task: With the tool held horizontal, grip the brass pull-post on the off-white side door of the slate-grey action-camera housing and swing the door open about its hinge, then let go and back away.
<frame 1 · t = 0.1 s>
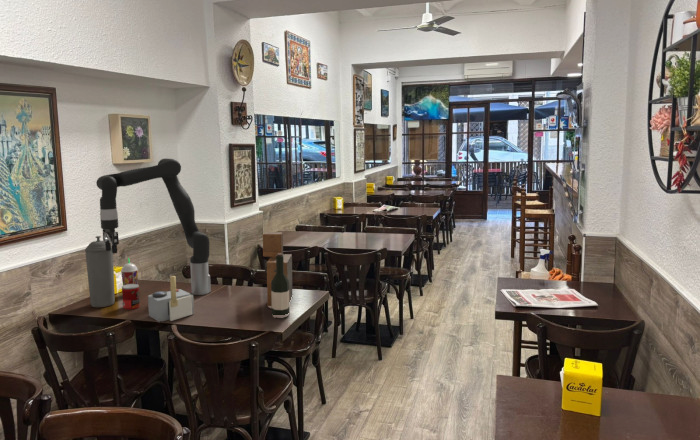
hand: (111, 251, 248), 29 cm above the table, tool pointing down, fingers open, 8 cm apart
camera body: (170, 315, 247), on the table
wine bottle: (280, 316, 247), on the table
side door: (182, 296, 241), point 11 cm above the table, hinge at 10.0°
smoothie: (130, 294, 280), on the table
canned food: (131, 307, 258), on the table
stacked wooden blocks: (279, 302, 268), on the table
canister: (102, 305, 262), on the table
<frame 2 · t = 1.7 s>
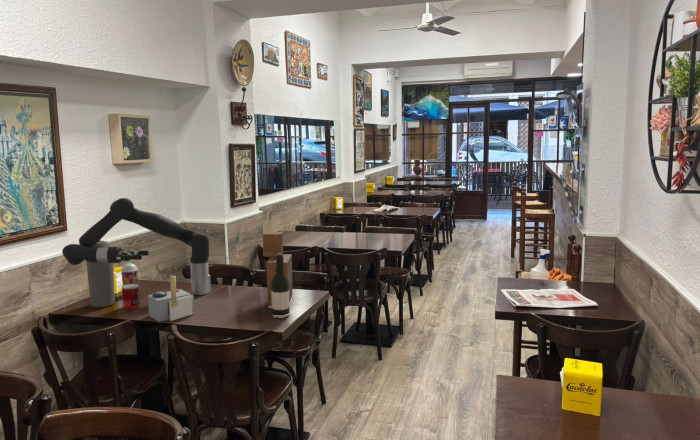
hand: (145, 255, 240), 30 cm above the table, tool horizontal, fingers open, 8 cm apart
nothing on the table moved.
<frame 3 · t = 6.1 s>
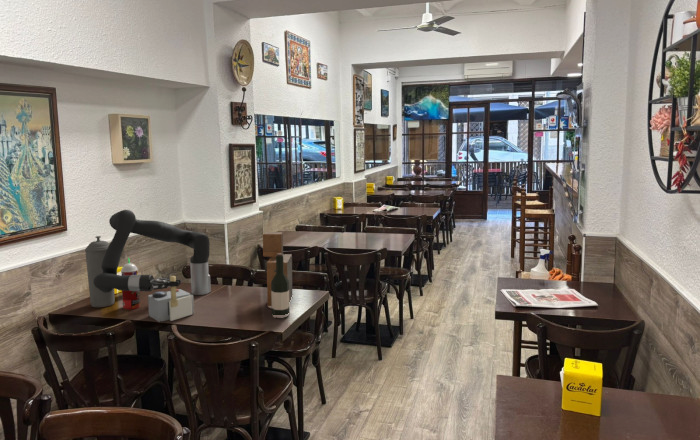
hand: (179, 283, 236), 18 cm above the table, tool horizontal, fingers closed on side door, 2 cm apart
side door: (182, 296, 241), point 11 cm above the table, hinge at 10.1°, touching gripper
everything else where it was.
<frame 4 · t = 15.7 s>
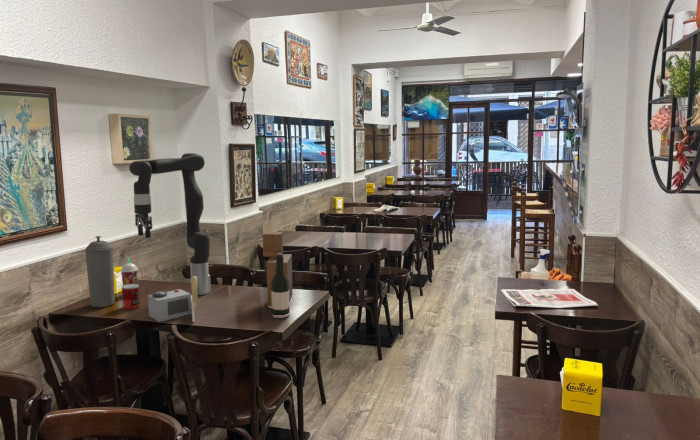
hand: (144, 236, 251), 36 cm above the table, tool pointing down, fingers open, 8 cm apart
side door: (194, 296, 241), point 11 cm above the table, hinge at 65.6°
everything else where it was.
at the end: side door at +66° (first picture: +10°); the gripper is holding nothing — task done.
